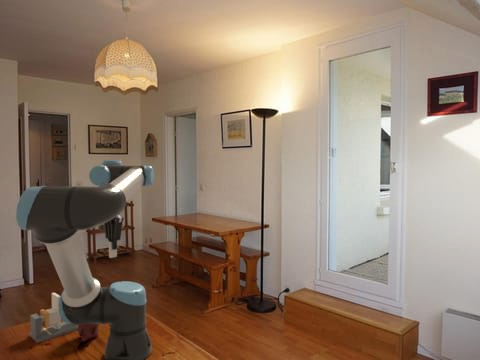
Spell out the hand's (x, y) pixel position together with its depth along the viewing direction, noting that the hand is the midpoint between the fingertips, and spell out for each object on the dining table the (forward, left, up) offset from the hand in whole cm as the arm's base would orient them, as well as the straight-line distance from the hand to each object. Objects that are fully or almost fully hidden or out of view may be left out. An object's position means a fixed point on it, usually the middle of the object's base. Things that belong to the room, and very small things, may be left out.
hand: (113, 256), depth 145 cm
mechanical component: (-6, +13, -27) cm, 30 cm away
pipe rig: (+7, +19, -26) cm, 33 cm away
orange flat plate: (+7, +24, -23) cm, 33 cm away
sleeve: (+7, +21, -24) cm, 33 cm away
